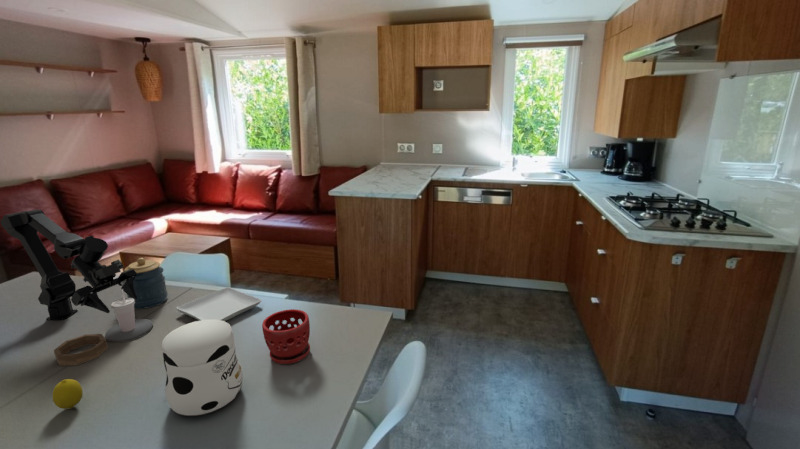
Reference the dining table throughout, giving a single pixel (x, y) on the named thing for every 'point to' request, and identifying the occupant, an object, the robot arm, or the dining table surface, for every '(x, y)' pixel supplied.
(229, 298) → the salad plate
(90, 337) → the brown octagonal holder
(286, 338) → the plant pot
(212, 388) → the milk container
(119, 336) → the rubber mat
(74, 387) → the lemon
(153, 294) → the canister
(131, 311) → the smoothie
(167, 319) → the dining table surface
